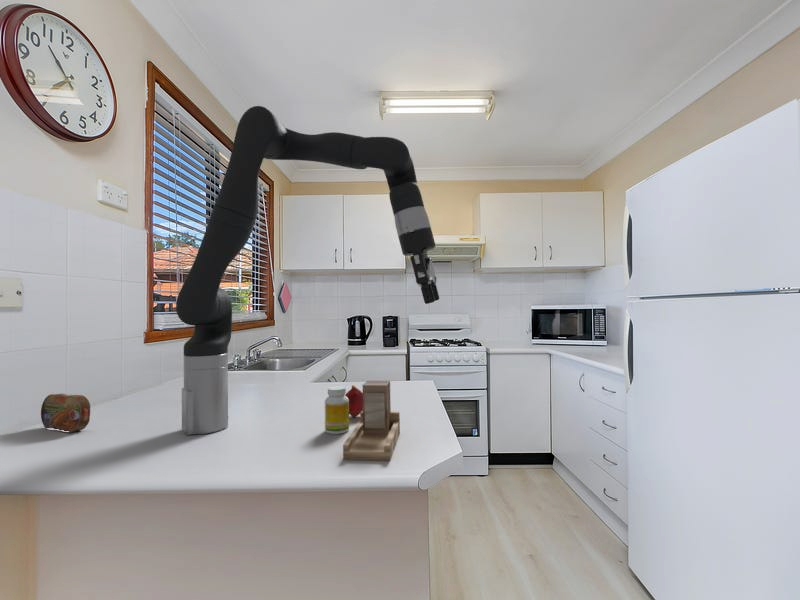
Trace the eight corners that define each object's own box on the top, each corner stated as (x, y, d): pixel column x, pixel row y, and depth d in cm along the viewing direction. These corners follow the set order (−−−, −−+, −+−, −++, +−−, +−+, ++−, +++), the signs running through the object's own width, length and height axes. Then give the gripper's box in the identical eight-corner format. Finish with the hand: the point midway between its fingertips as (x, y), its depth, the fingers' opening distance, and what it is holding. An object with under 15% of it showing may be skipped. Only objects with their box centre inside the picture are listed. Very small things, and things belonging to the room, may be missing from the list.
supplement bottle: (322, 429, 88) (321, 387, 89) (345, 426, 91) (344, 384, 91) (328, 436, 84) (328, 391, 84) (352, 432, 86) (351, 388, 86)
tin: (39, 428, 93) (39, 393, 93) (54, 425, 96) (55, 390, 96) (78, 435, 88) (78, 397, 88) (93, 431, 90) (93, 394, 91)
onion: (368, 414, 101) (367, 383, 101) (363, 420, 95) (363, 387, 95) (346, 413, 101) (345, 383, 102) (340, 420, 96) (340, 387, 96)
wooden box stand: (390, 460, 69) (388, 395, 70) (343, 459, 70) (342, 395, 71) (399, 432, 85) (398, 379, 85) (361, 431, 86) (360, 379, 86)
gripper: (404, 239, 94) (421, 304, 94) (390, 232, 80) (410, 308, 80) (434, 230, 93) (451, 296, 93) (425, 221, 79) (446, 299, 79)
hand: (432, 301), depth 86 cm, fingers open, 8 cm apart
